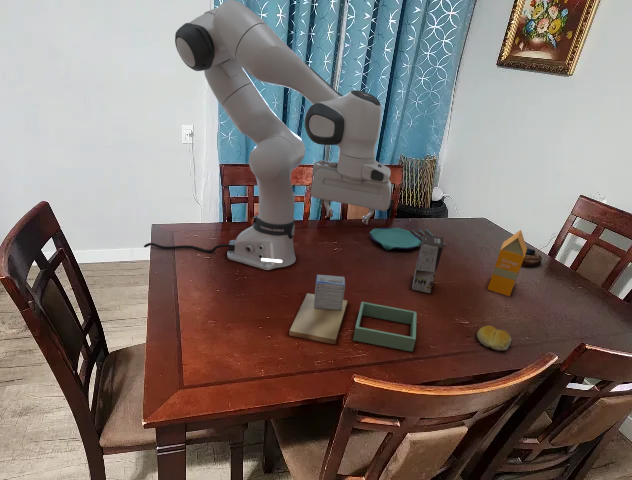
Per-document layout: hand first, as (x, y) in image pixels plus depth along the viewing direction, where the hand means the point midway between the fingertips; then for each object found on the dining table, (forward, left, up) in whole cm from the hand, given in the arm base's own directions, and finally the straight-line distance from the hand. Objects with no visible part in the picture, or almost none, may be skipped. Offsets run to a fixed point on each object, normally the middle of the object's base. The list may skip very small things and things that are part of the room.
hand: (347, 219), depth 115 cm
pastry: (+65, +58, -26) cm, 91 cm away
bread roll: (+45, -5, -26) cm, 52 cm away
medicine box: (-2, -5, -24) cm, 25 cm away
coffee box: (+25, +21, -26) cm, 42 cm away
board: (-3, -10, -26) cm, 28 cm away
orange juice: (+52, +30, -26) cm, 66 cm away
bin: (+15, -10, -26) cm, 31 cm away
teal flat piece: (+18, +56, -26) cm, 65 cm away
